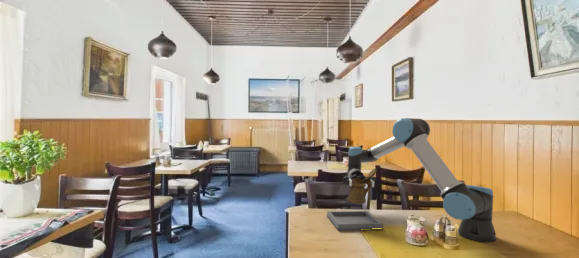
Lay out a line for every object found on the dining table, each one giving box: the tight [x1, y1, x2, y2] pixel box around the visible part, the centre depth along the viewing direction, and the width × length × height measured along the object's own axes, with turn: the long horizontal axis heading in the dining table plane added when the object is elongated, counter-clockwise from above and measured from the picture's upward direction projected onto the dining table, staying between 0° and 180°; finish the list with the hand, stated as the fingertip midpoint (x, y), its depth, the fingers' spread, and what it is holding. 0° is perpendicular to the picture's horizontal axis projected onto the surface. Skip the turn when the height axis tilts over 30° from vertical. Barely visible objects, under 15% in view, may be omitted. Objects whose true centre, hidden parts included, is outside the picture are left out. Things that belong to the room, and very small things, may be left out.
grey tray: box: [326, 210, 384, 232], centre depth 165 cm, size 22×22×3 cm
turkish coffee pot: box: [347, 167, 378, 205], centre depth 165 cm, size 9×14×18 cm, turn 91°
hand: (362, 184), depth 161 cm, fingers closed on turkish coffee pot, 10 cm apart
